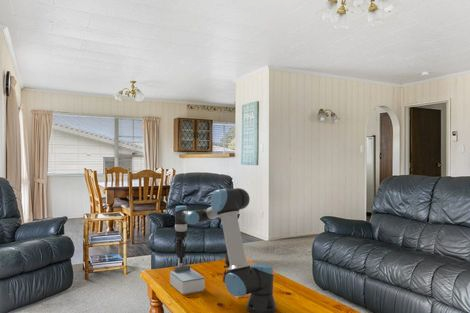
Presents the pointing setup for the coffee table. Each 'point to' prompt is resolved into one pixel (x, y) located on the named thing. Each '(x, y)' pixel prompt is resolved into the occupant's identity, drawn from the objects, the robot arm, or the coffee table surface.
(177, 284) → the box
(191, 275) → the lid
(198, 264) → the coffee table surface
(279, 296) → the coffee table surface
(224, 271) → the music box
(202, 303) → the coffee table surface
